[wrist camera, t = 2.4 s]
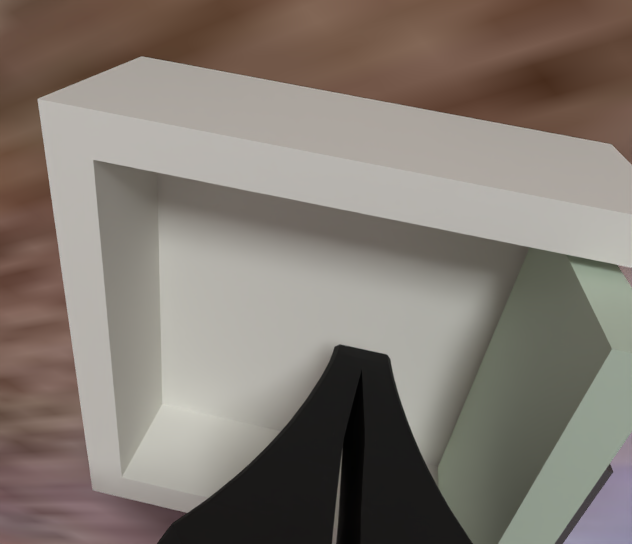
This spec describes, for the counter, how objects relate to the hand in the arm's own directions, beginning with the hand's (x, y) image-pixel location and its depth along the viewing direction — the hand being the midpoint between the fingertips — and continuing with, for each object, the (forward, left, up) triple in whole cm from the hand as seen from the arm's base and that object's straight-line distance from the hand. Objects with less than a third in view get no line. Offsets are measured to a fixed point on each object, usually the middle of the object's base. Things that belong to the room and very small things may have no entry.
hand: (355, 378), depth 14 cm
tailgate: (-4, -2, -2) cm, 5 cm away
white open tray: (+1, +1, -4) cm, 4 cm away
